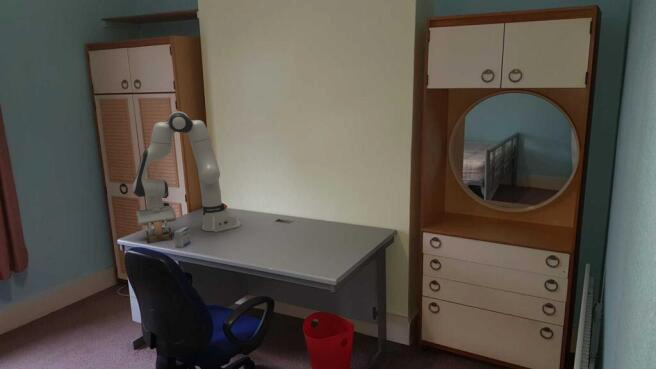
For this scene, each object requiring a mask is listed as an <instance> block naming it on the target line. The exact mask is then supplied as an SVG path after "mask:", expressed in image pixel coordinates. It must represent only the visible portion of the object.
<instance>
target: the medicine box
mask: <svg viewBox="0 0 656 369" xmlns="http://www.w3.org/2000/svg"><path fill="white" fill-rule="evenodd" d="M173 234H174V242H175V248H185V247H186V246H187V245H188V244H190V243H191V236H190V228H189V226H188V227H186V226H184V227H180V228H178V229H177V230H175V231H174V232H173Z"/></svg>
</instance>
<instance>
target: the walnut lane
mask: <svg viewBox="0 0 656 369" xmlns="http://www.w3.org/2000/svg"><path fill="white" fill-rule="evenodd" d="M145 232H146V233H145V234H146V241H147V244H152V243H158V242H159V243H160V242H166V241H171V240H173V233H172V230H171V227H168V234H167V233H166V234H164V235H161V236H155V235H154V236H149V234H150V233H149V230H146V231H145Z"/></svg>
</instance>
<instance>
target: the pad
mask: <svg viewBox="0 0 656 369" xmlns="http://www.w3.org/2000/svg"><path fill="white" fill-rule="evenodd" d="M165 228H166V229H163V234H167V233H168V230H167V226H165ZM153 234H154V236H155V232H154V231H153Z"/></svg>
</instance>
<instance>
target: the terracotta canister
mask: <svg viewBox="0 0 656 369" xmlns="http://www.w3.org/2000/svg"><path fill="white" fill-rule="evenodd" d="M152 225H153V227H154V231H153V233H154V232H155V235H154V237H155V236H161V235H165V233H163V226H162V225H163V223H162V221H156V222H153V224H152Z"/></svg>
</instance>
